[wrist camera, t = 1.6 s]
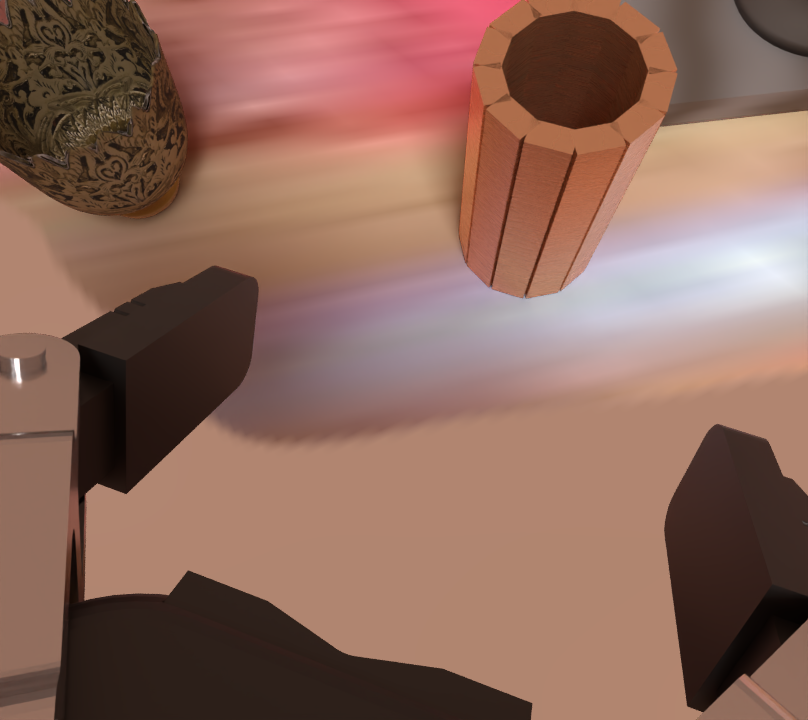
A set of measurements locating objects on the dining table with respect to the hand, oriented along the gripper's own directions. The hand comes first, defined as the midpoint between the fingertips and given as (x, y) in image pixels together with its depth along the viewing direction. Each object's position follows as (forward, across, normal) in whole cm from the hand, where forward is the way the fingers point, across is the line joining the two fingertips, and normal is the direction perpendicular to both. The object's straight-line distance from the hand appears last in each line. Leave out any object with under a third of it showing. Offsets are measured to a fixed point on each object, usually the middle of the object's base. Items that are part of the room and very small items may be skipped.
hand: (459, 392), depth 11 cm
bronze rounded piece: (+16, +17, +4) cm, 24 cm away
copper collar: (+18, 0, +2) cm, 18 cm away
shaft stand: (+29, -9, -8) cm, 31 cm away
